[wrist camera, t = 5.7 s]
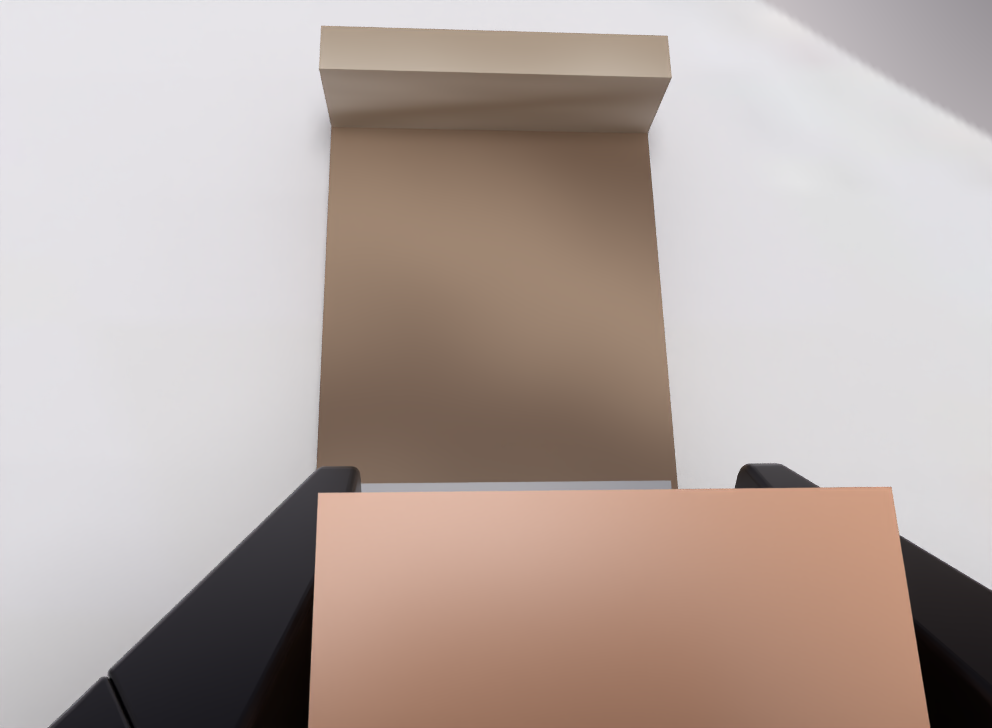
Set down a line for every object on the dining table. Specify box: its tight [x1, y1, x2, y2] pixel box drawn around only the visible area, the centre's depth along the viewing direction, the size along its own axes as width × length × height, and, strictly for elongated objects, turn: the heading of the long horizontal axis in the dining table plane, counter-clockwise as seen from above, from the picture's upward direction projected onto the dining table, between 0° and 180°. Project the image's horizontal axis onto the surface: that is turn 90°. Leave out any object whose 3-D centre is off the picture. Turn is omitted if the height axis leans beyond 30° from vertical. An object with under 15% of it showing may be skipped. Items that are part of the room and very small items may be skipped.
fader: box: [308, 481, 930, 728], centre depth 10 cm, size 5×6×10 cm
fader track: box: [317, 26, 678, 489], centre depth 16 cm, size 17×7×3 cm, turn 1°
